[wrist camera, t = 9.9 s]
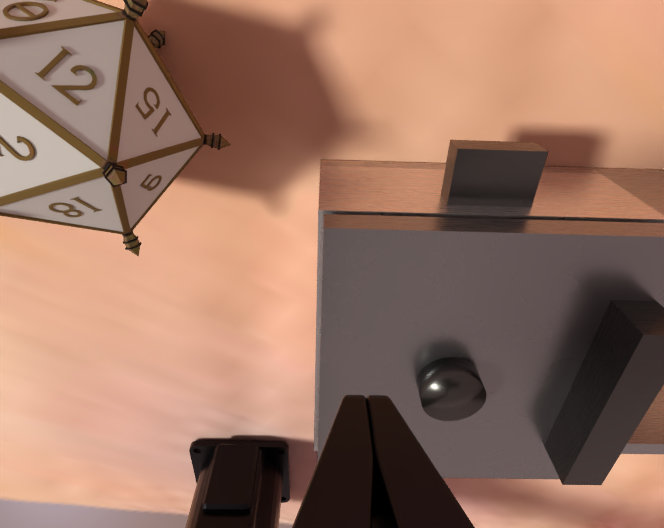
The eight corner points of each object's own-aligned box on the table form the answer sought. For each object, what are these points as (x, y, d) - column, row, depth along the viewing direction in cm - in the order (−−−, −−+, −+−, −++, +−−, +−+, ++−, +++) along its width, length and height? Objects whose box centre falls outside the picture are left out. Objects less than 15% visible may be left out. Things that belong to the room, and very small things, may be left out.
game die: (148, 118, 22) (-7, 280, 17) (4, -89, 15) (-309, 88, 10) (299, 132, 18) (151, 348, 13) (197, -138, 11) (-172, 110, 7)
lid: (560, 459, 21) (589, 518, 19) (317, 456, 21) (316, 515, 19) (681, 223, 15) (750, 268, 12) (323, 214, 14) (322, 258, 12)
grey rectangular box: (664, 401, 27) (729, 480, 23) (315, 396, 27) (313, 475, 22) (839, 129, 18) (1001, 172, 14) (321, 112, 18) (319, 150, 13)
